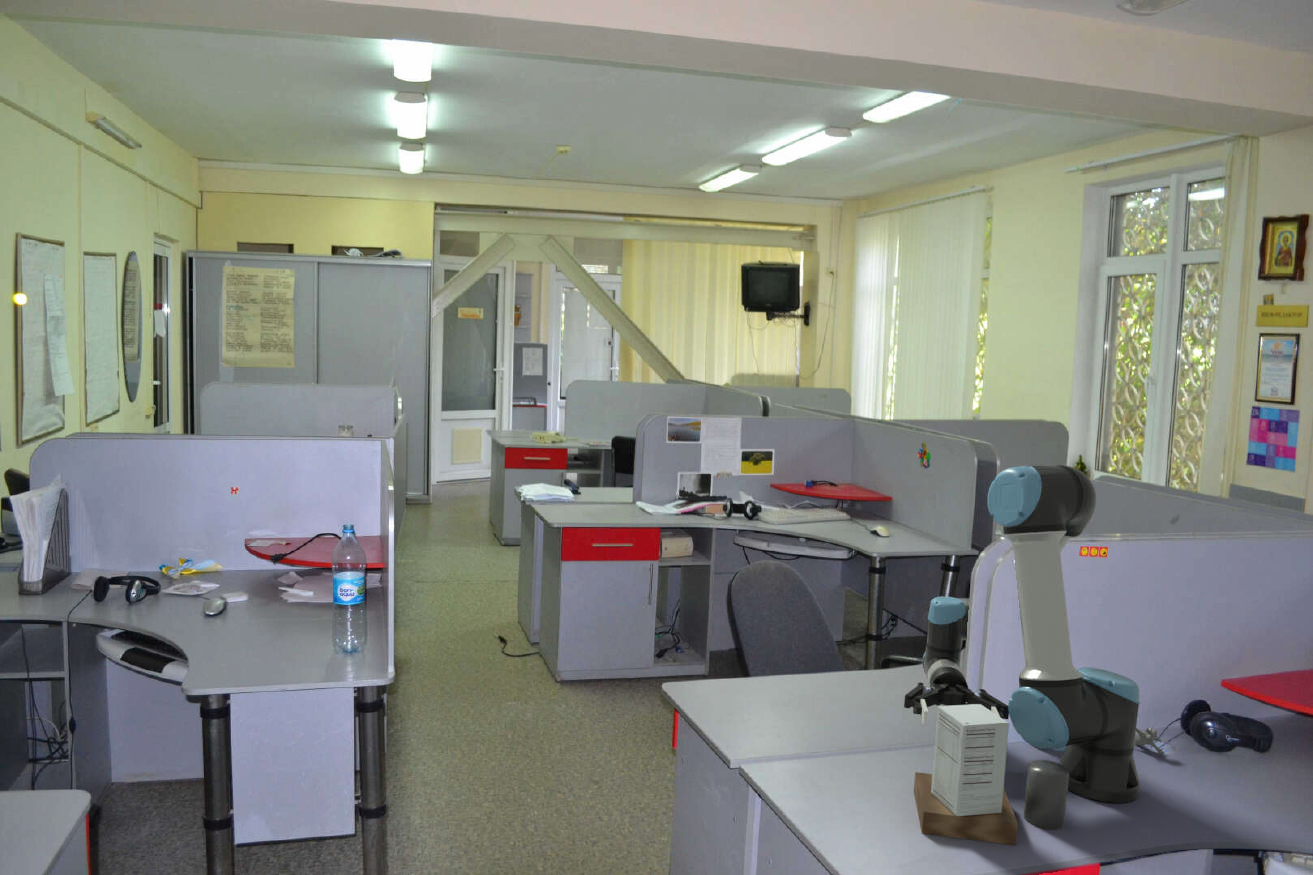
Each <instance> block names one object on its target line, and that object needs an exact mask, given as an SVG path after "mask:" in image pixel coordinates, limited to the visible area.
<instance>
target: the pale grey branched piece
mask: <svg viewBox="0 0 1313 875" xmlns="http://www.w3.org/2000/svg"><path fill="white" fill-rule="evenodd" d="M1158 731H1159V730H1158V729H1155V728H1154V725H1151V727H1150V728H1146V729H1145V731H1144V730H1140V729H1139V728H1137V727H1136V733H1135V742H1134V747H1135V746H1137V745H1138V746H1145V745H1149V746H1151V747H1152V748H1154V749H1155V750H1156V751H1157V753H1158V754H1160V755H1161V756H1164V755H1165V752H1164V751H1163V749H1164V748H1163V747H1161V748H1160V747H1158V746H1157V745H1156V744H1155V742H1154V741H1156V742H1159V743H1162V740H1161V739H1160V738H1159V736H1158Z"/></svg>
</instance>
